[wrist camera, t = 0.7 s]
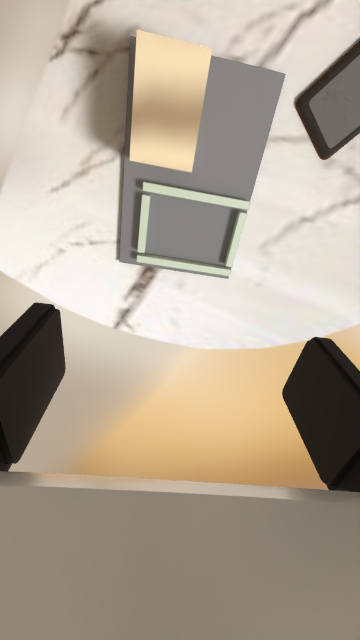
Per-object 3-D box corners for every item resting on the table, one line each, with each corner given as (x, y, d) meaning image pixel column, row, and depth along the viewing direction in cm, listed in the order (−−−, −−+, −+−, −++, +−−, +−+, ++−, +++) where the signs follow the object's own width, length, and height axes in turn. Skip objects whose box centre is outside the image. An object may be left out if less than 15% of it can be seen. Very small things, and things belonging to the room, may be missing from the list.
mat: (131, 38, 22) (128, 30, 21) (283, 75, 24) (289, 70, 22) (120, 260, 32) (117, 264, 31) (227, 277, 34) (229, 281, 32)
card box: (144, 55, 22) (137, 29, 18) (205, 70, 23) (212, 48, 19) (136, 161, 26) (129, 160, 22) (189, 171, 27) (191, 172, 23)
